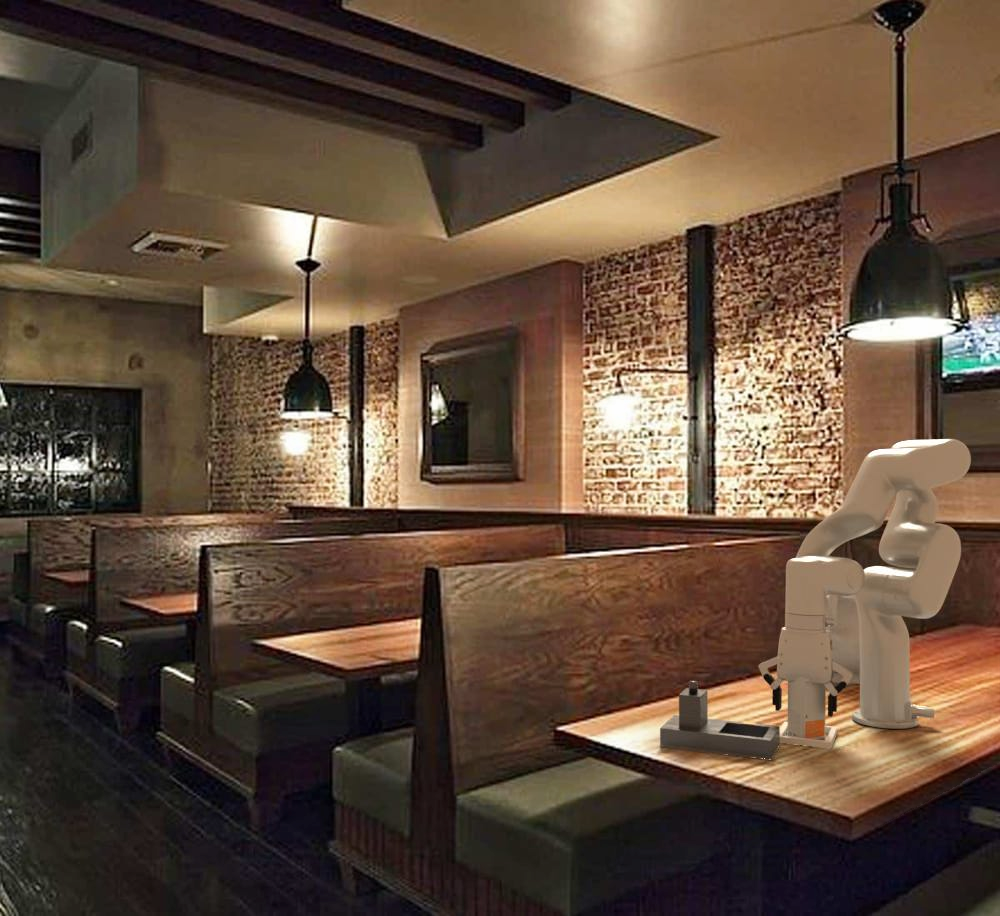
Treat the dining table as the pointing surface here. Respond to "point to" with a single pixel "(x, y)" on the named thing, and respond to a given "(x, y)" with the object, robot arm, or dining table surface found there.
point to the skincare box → (806, 709)
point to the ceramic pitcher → (844, 635)
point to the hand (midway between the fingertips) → (804, 712)
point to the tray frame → (809, 742)
